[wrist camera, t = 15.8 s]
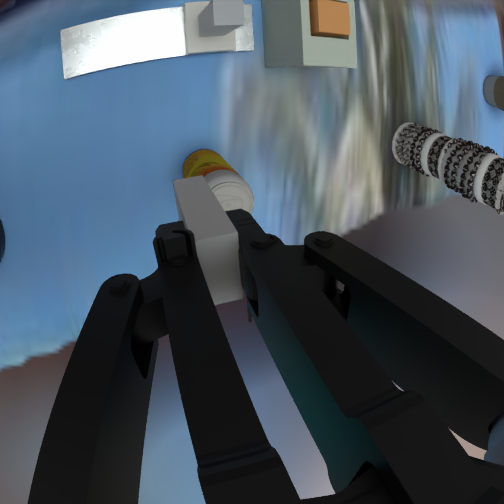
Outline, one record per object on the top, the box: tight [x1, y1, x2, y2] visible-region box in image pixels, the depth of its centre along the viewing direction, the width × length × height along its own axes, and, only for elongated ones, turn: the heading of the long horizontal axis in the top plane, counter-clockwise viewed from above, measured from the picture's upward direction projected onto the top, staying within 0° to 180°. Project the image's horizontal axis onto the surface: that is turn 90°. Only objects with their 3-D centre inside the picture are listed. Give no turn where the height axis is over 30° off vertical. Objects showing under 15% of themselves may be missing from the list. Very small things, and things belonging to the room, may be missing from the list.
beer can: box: [183, 149, 254, 214], centre depth 39 cm, size 6×6×15 cm
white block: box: [261, 0, 357, 68], centre depth 33 cm, size 7×12×12 cm, turn 3°
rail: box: [60, 4, 254, 79], centre depth 33 cm, size 25×7×2 cm, turn 93°
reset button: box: [309, 0, 350, 38], centre depth 29 cm, size 4×4×5 cm
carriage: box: [183, 0, 245, 55], centre depth 29 cm, size 6×7×11 cm
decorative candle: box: [392, 122, 504, 215], centre depth 43 cm, size 9×9×25 cm
